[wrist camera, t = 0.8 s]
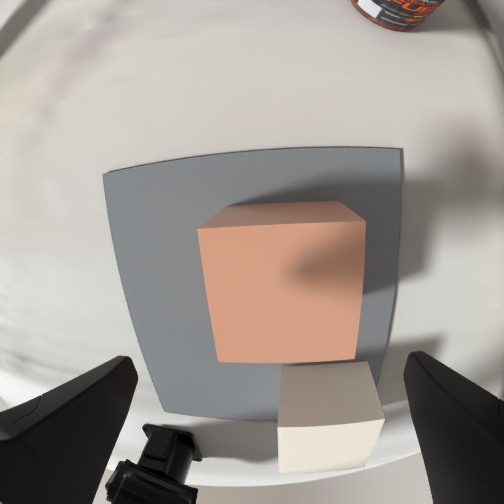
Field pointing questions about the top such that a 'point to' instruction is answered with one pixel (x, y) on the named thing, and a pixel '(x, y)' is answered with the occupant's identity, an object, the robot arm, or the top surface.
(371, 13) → the supplement bottle
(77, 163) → the top surface
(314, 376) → the ivory rectangular chunk
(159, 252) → the mat
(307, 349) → the salmon pink cube
